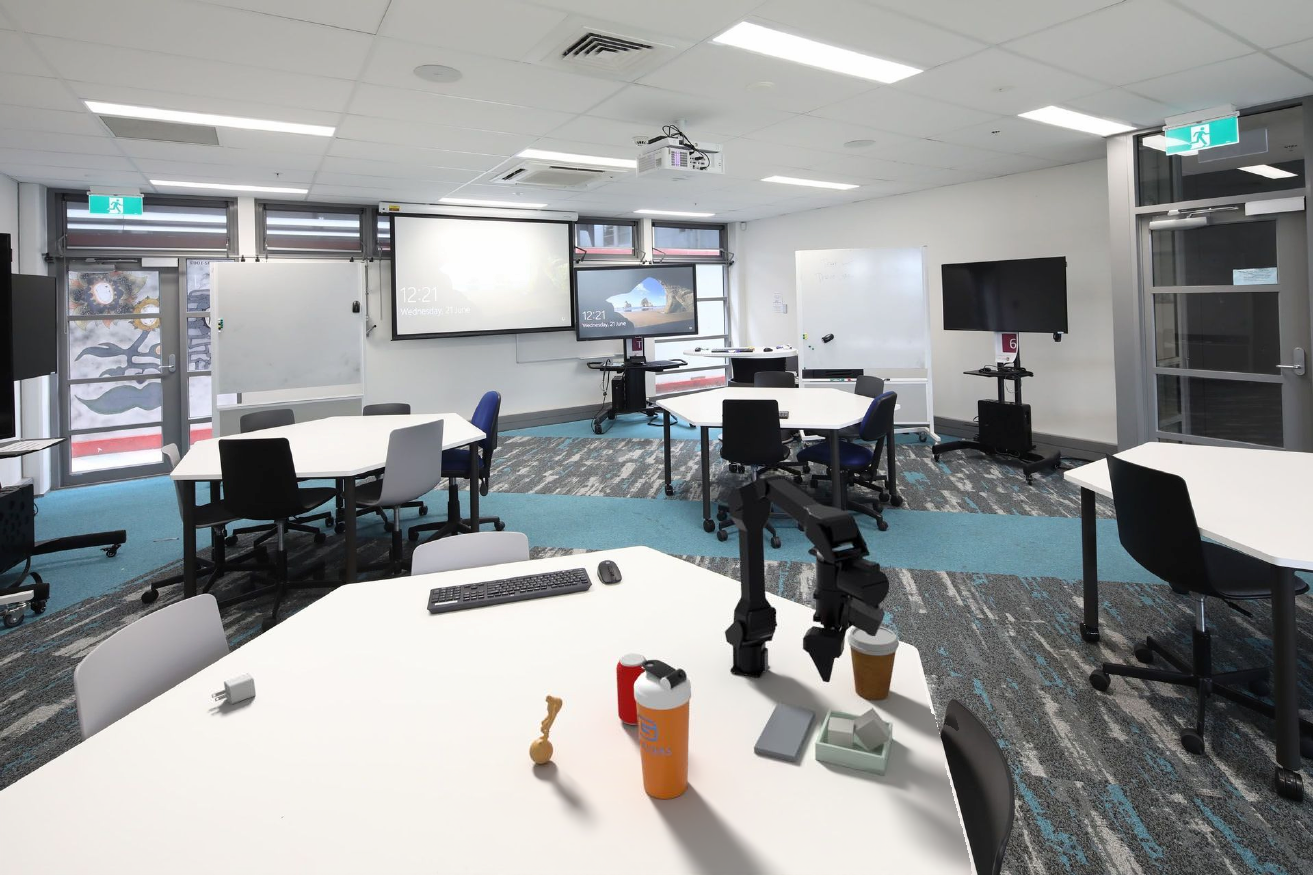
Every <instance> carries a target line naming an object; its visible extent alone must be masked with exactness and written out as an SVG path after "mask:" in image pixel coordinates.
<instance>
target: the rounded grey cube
mask: <svg viewBox="0 0 1313 875" xmlns="http://www.w3.org/2000/svg"><path fill="white" fill-rule="evenodd" d="M828 744H830V745H834V746H839V747H843V748H848V749H852V750H853V744H854V720H849V719H842V718H835V717H830V720H829V726H828Z"/></svg>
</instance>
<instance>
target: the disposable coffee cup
mask: <svg viewBox="0 0 1313 875" xmlns="http://www.w3.org/2000/svg"><path fill="white" fill-rule="evenodd" d="M847 642H848V645H849V646H850V647H849V649H850V655H851V664H852V672H853V680H854V682H853V683H854V690H855V693H856V694H857V695H858V696H860V697H861V698H863V699H866V700H871V701H881V700H885V699H886V698H888V697H889V695H890V690H891V689H890V688H891V682H892V677H893V670H894V664H895V658H896V653H897V649H898V648H899V644H900V641H899V640H898V638H897V635H896V633H895V632H894V631H892V630H891V629H889V628H887V627H883V626H880V627H879V629H878V631H877V634H876V636H870V635H868V634H867V633H866V632H864V631H862V630H860V629H858V628H856V627H852V629H850V631H849V635H848V636H847Z"/></svg>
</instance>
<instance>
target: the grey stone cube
mask: <svg viewBox="0 0 1313 875" xmlns="http://www.w3.org/2000/svg"><path fill="white" fill-rule="evenodd" d="M859 716H860V717H858V718H856V719H855V720H854V733H855V734H856V735H857V736H858V737H859V739H860V740H861V741H862V742H863V744H864V745H865V746H866V747H867V749H868V750H869V751H871V750H872V749H874V748H876V747H877V746H879V745H881V744H882V743H884V742H885V741H887V740H889V731H888V726H887V725H886V724H885V722H884V721H885V720H883V719H882V718H881V716H880V715H879V713H877V712H876V710H875V709H874V708H871V709H869V710H868V711H866V712H864V713H863V714H861V715H859Z"/></svg>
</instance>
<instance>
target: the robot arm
mask: <svg viewBox="0 0 1313 875" xmlns="http://www.w3.org/2000/svg"><path fill="white" fill-rule="evenodd" d="M727 496H728V498H727V506H728V507H729V515H730V518H731V519H732V521H733V523H734V524H735V526H736V527H737V529H738V547H739V549H738V550H739V569H740V570H739V572H740V573H739V574H740V598H739V600H738V602H737V604H736V605H735V608H734V610H733V623H732V624H731V625H729V627H728V628H727V629H726V630H725V631H724V634H725V636H724V637H725V640H726V642H727V643H728V644H729V645H731V646H732V667H731V668H730V671H729V672H730V673H731V674H737V675H742V676H747V677H753V678H757V679H758V678H761V677H762V675H763V674H764V673H765V672H766V670H767V669H768V667H769V648H768V647H766V642H771V641H773V638H774V634H775V633H776V628H777V627H778V623H777V609H776V607H775V606H772V605H771V603H770V602H769V601H768V599H767V597H766V575H765V574H766V572H765V571H766V570H765V568H766V567H765V546H764V544H765V543H764V541H765V540H764V529H765V527H766V525H767V523H768V521H769V519H770V517H771V513H772V512H771V510H772V504H774V506H776V507H777V508H779V509H781V511H783V512H784V513H785V514H787V515H788V516H789V517H791V518H792V519H794V520H795V521H796V522H797V523H799V524H800V526H802V527H803V531H804V535H805V537H806V538H807V540H809V541H810V542H811V543H812V545H814V546H813V547H811V548H809V549H808V551H807V553H808V554H809V555H811V556H813V557H815V559H816V560H815V562H816V563H815V565H816V566H815V590H814V591H813V593H812V596H813V597H812V599H813V600H815V612H814V613H813V615H812V622H815V623H819V624H820V625H821V626H823V627H820V626H815V625H813V626H811V627H810V628H808V630H807V631H806V632H805V634H804V636H803V638H802V650H804V651H805V652H806V653H807V654H808V655H809V657H810V658H811V660H812V662H813V664H814V665H815V667H816V669H817V672H818V673H819V676H820V678H821V681H823V682H825V683H830V680H831V678H832V673H833V668H834V663H835V659H840V658H841V657H842V654H843V652H844V651H845V650H844V649H845V640H846V639H845V637H846V634H847V630H849V628H851V627H853V628H855V627H856V628H858V629H860V630H862V631H864V632H866V633H867V634H868V635H870V636H876V634H877V631H878V629H879V627H881V625H882V622H883V620H884V618H885V613H886V612H885V611H884V609H885V608H883V607H881V603H882V602H883V601H884V600H886V597H887V596H888V593H889V590H890V581H889V579H888V577H887V575H886V574H885V573H884V572H883V571H881V565H880V563H879V562H876V561H872V560H871V561H870V560H868V559H866V557H869V556H870V551H869V549H868V545H867V542H866V541H865V539H864V537H863V536H862V532H861V530H860V528H859V525H858V523H857V521H856V519H855V517H854V516H853V515H852V514H850V513H849V512H847V511H844V510H843V509H840V508H837V507H833V506H827V505H823V504H821V503H819V502H817V501H816V500H814V499H813V498H811V497H810V496H809V495H807V494H806V493H805V492H803V491H802V490H800V489H799V488H798V487H796V486H795V485H793V484H792V483H790V482H789V481H788V480H787V479H786V477H784V475H782V474H777V473H776V474H769V475H763V476H760V477H759V478H756V479H755V480H754V481H752V482H749V483H748V484H747V483H746V484H745V485H743V486H739V487H733V488H732V490H731V491H730V492H729V493H728V495H727ZM851 545H852V546H853V547H849V546H851ZM847 546H848V547H849V548H844V549H839V550H838V548H843V547H847Z"/></svg>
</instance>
